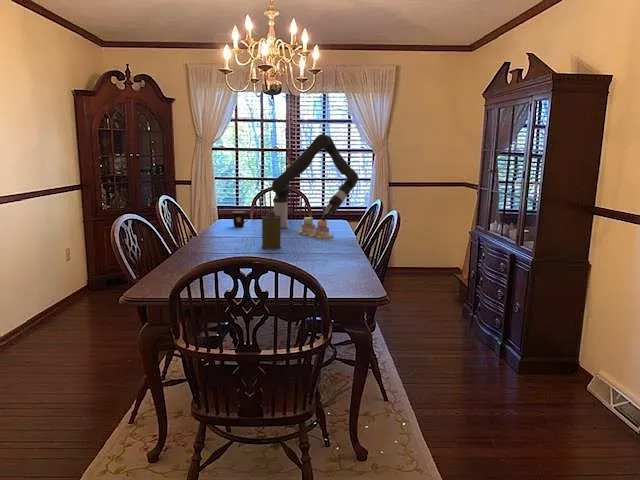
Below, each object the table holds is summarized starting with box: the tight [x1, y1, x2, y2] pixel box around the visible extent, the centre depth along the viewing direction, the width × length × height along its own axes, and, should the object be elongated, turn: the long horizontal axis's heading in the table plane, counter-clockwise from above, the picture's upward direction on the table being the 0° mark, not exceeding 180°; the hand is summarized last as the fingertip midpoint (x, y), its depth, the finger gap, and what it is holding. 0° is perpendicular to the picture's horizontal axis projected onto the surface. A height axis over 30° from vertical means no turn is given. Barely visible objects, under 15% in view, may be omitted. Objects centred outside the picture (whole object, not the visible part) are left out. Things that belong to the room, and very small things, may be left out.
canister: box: [261, 210, 282, 250], centre depth 286 cm, size 11×10×20 cm
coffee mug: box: [232, 210, 252, 228], centre depth 355 cm, size 12×9×10 cm
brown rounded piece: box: [317, 219, 328, 228], centre depth 320 cm, size 6×6×7 cm
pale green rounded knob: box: [303, 216, 314, 225], centre depth 331 cm, size 6×6×7 cm
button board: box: [296, 223, 334, 240], centre depth 326 cm, size 24×10×6 cm, turn 39°
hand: (322, 219), depth 319 cm, fingers closed
